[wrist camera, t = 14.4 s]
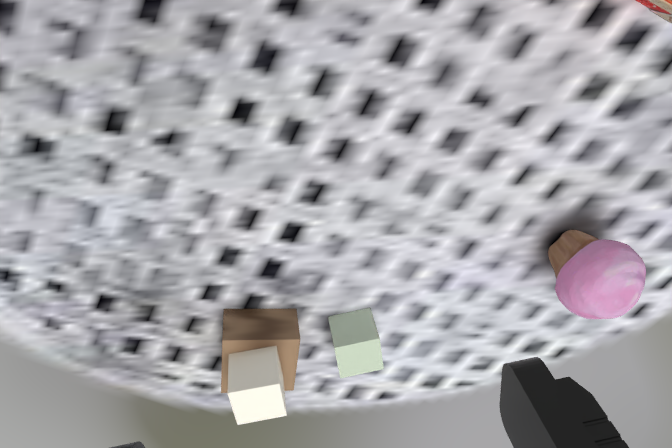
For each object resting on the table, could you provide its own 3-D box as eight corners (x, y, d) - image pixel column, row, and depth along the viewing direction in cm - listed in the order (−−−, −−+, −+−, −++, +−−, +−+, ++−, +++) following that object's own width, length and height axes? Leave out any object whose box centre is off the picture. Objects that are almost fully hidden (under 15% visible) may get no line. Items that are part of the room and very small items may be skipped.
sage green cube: (333, 345, 62) (340, 378, 57) (327, 316, 59) (334, 348, 55) (374, 337, 62) (383, 368, 58) (370, 307, 59) (379, 338, 55)
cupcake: (564, 284, 62) (613, 344, 53) (515, 258, 58) (559, 318, 50) (619, 229, 58) (681, 285, 50) (570, 198, 55) (628, 253, 47)
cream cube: (238, 385, 56) (237, 424, 52) (228, 354, 53) (227, 393, 49) (283, 377, 56) (286, 415, 52) (276, 345, 53) (279, 383, 49)
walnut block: (222, 358, 60) (221, 392, 56) (223, 307, 56) (222, 340, 52) (290, 356, 62) (293, 390, 58) (296, 307, 58) (300, 339, 53)
